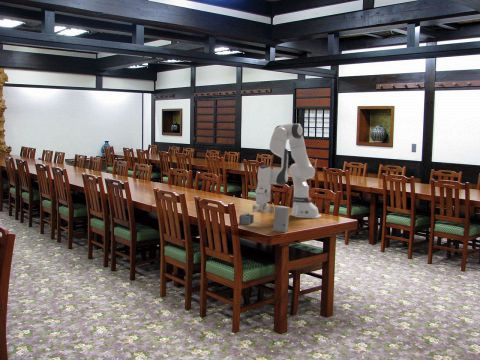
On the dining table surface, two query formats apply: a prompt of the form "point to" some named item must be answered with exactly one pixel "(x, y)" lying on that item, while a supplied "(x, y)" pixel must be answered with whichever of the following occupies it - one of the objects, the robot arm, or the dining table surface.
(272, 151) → the robot arm
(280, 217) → the skincare box
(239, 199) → the dining table surface
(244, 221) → the end cap
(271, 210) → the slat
